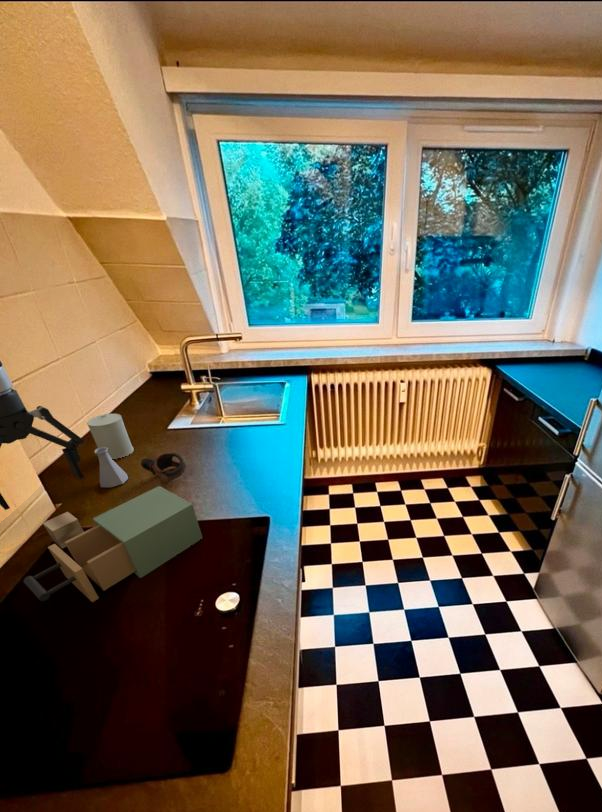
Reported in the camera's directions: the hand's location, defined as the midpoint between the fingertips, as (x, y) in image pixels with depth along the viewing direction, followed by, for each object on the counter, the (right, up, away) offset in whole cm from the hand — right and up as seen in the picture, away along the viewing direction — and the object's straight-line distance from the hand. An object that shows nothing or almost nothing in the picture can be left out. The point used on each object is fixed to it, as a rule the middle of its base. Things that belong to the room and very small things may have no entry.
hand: (44, 490), depth 81 cm
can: (-11, +11, +41) cm, 44 cm away
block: (0, -11, +7) cm, 13 cm away
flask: (-3, +2, +27) cm, 27 cm away
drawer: (+14, -17, -4) cm, 23 cm away
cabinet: (+21, -12, +5) cm, 25 cm away
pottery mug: (+11, +3, +29) cm, 31 cm away
